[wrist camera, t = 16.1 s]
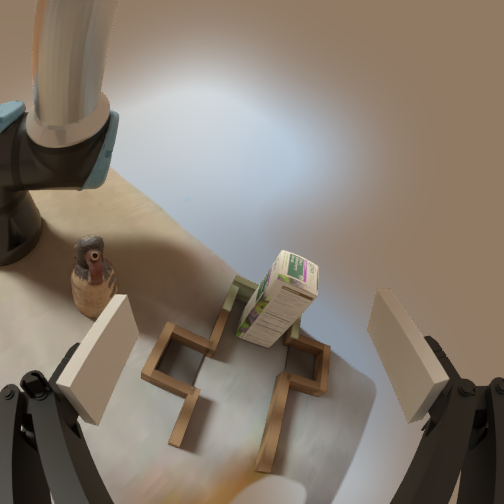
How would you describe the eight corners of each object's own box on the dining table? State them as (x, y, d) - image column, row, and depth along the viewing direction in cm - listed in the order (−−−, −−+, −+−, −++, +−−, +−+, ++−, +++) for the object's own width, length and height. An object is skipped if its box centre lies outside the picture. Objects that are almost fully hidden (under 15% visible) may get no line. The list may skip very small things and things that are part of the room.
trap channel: (303, 479, 26) (320, 478, 24) (120, 421, 25) (117, 416, 22) (324, 330, 47) (336, 318, 45) (195, 274, 46) (200, 258, 43)
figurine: (113, 276, 39) (114, 216, 32) (123, 314, 36) (124, 258, 28) (71, 283, 35) (61, 222, 27) (78, 323, 31) (63, 267, 24)
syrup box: (242, 308, 45) (280, 246, 35) (275, 321, 45) (320, 264, 36) (234, 337, 40) (274, 277, 31) (270, 350, 41) (320, 296, 31)
